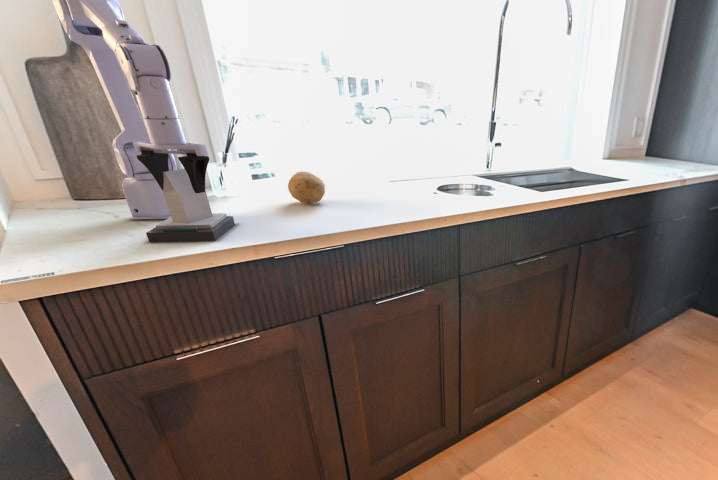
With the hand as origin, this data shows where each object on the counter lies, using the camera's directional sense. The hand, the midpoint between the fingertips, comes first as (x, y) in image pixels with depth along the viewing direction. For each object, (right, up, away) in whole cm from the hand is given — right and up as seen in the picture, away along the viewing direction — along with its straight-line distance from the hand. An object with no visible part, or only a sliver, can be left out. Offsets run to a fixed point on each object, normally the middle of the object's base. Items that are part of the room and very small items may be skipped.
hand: (184, 191), depth 89 cm
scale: (0, -8, +4) cm, 9 cm away
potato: (+12, +7, +32) cm, 35 cm away
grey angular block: (0, -5, +3) cm, 6 cm away
